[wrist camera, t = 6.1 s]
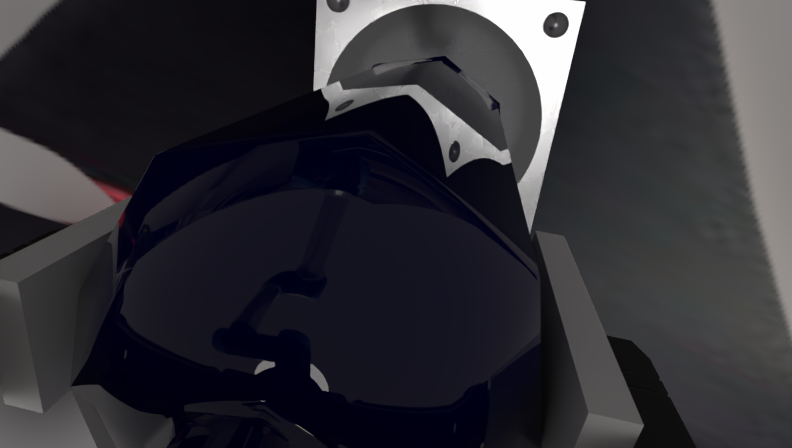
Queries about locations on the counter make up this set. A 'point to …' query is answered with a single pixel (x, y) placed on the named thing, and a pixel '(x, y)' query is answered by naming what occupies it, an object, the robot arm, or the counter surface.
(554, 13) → the flange plate
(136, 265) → the bottle
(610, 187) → the counter surface
